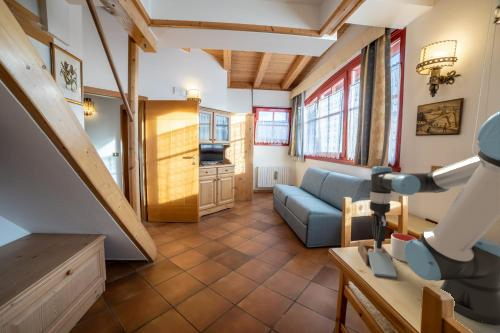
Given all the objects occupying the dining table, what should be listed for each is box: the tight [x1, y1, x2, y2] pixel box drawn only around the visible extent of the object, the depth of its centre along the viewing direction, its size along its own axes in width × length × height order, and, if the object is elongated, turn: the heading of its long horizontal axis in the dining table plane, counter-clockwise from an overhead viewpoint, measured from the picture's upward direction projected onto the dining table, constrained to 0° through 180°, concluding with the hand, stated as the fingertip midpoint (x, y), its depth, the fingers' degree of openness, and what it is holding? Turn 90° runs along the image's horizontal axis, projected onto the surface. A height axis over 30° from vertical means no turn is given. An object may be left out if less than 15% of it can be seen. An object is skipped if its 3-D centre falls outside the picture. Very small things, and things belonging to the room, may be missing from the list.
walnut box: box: [357, 241, 394, 267], centre depth 97 cm, size 14×10×5 cm
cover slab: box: [368, 251, 398, 279], centre depth 88 cm, size 10×8×2 cm
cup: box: [389, 232, 418, 263], centre depth 99 cm, size 10×10×10 cm
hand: (377, 254), depth 93 cm, fingers closed
